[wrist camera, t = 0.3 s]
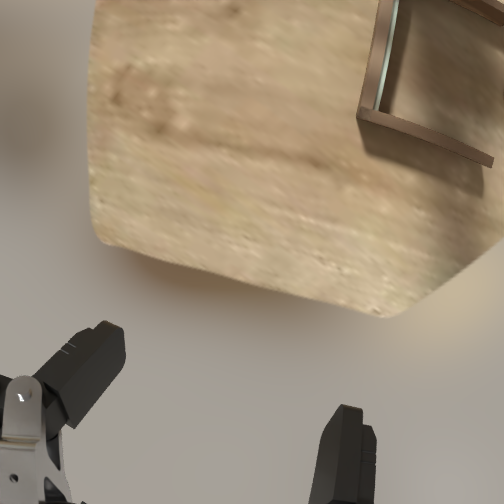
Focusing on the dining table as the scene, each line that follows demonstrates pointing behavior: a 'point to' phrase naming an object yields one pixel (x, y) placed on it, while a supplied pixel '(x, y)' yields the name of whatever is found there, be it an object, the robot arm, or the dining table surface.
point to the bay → (480, 3)
